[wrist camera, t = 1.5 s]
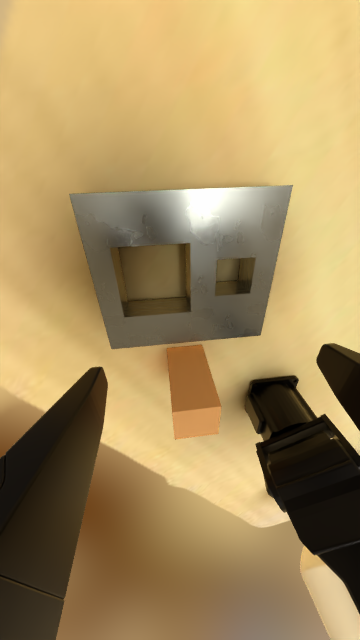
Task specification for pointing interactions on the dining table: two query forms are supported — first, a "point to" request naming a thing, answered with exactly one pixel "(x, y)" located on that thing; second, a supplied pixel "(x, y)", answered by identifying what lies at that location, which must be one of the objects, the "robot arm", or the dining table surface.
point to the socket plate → (201, 259)
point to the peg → (192, 393)
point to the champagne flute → (330, 598)
